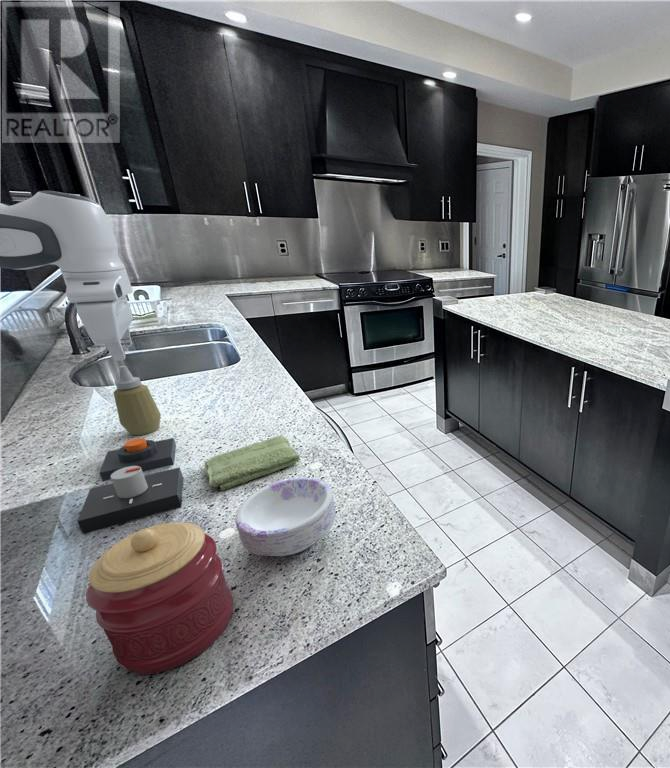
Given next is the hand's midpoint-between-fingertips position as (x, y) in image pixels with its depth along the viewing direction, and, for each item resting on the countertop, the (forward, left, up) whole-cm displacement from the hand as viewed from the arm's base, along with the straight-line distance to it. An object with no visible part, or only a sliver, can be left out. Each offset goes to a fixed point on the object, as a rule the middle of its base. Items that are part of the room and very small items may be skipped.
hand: (123, 353), depth 83 cm
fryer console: (-3, -15, -27) cm, 31 cm away
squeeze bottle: (-5, +21, -27) cm, 34 cm away
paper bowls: (+21, -41, -27) cm, 54 cm away
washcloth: (+17, -12, -27) cm, 34 cm away
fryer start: (-4, +3, -23) cm, 24 cm away
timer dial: (-3, -15, -24) cm, 28 cm away
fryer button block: (-4, +3, -27) cm, 27 cm away
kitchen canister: (+5, -52, -27) cm, 59 cm away
